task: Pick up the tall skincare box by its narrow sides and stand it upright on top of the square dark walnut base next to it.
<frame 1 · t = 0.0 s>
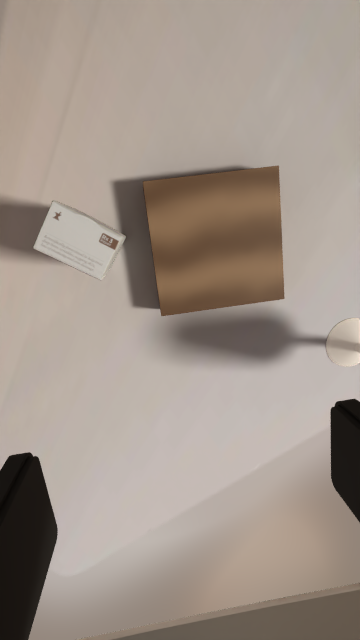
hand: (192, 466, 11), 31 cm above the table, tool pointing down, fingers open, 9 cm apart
champagne flute: (349, 342, 45), on the table
walnut base: (211, 242, 40), on the table
skincare box: (96, 239, 39), on the table
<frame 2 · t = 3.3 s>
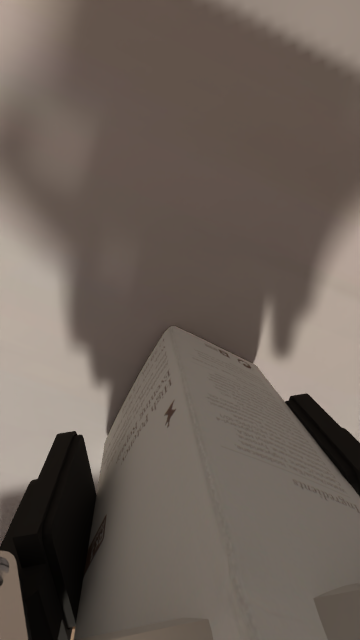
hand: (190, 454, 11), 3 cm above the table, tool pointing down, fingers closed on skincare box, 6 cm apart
skincare box: (180, 404, 15), on the table, touching gripper
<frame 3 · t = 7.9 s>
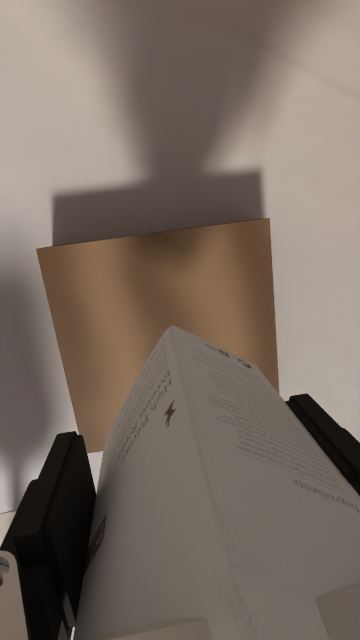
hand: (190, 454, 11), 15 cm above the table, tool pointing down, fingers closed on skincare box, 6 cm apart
walnut base: (167, 327, 26), on the table
skincare box: (180, 404, 15), point 12 cm above the table, touching gripper
when the fingers open (8 cm above the table, at t = 10.1 s): skincare box drops 1 cm, resting on walnut base.
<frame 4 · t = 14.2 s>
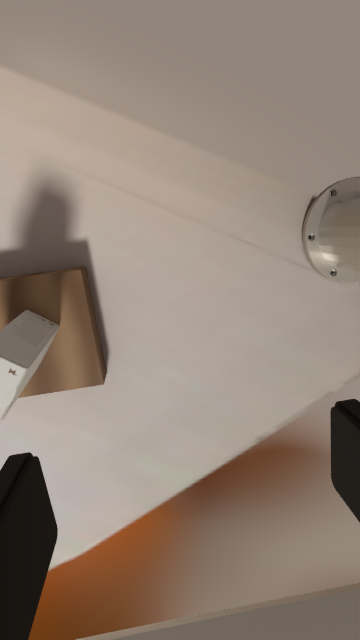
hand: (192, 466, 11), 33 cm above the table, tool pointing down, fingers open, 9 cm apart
walnut base: (41, 329, 43), on the table, touching skincare box
skincare box: (34, 339, 40), point 3 cm above the table, touching walnut base
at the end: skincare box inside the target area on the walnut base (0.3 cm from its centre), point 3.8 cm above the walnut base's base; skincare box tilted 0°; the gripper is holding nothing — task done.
